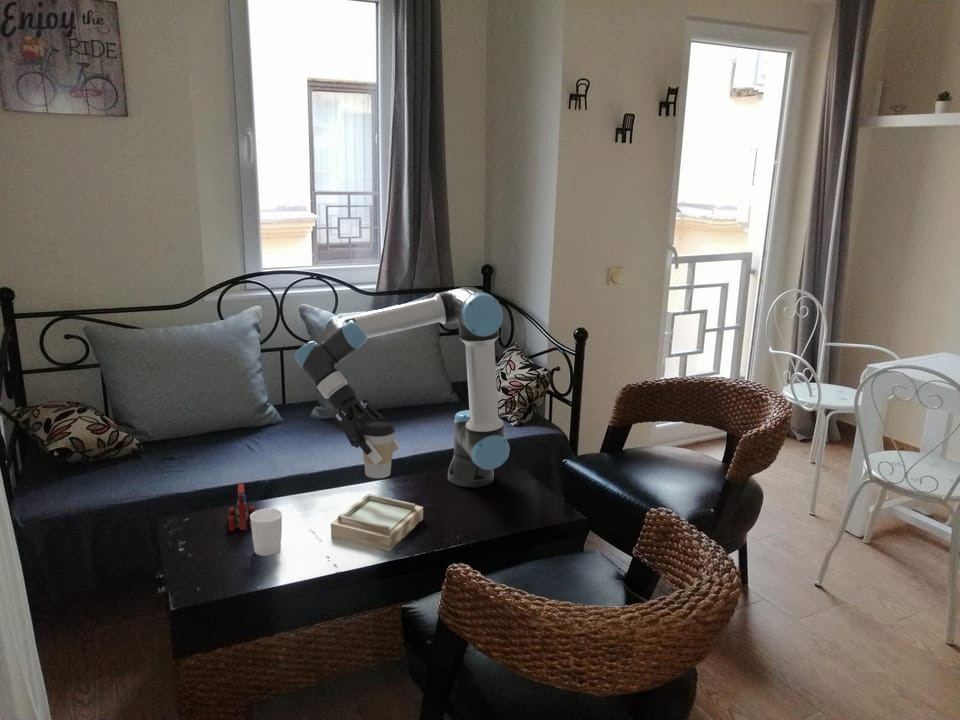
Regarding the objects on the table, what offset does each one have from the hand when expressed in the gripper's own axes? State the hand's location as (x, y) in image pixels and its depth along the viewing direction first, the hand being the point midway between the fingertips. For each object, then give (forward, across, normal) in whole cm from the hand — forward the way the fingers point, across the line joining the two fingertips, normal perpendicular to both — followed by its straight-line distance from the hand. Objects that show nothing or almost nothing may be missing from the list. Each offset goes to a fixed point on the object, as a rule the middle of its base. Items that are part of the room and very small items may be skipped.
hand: (388, 455), depth 196 cm
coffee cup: (+2, 0, -6) cm, 7 cm away
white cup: (0, +23, -32) cm, 40 cm away
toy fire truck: (-11, +15, -43) cm, 47 cm away
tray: (+14, 0, -18) cm, 23 cm away
